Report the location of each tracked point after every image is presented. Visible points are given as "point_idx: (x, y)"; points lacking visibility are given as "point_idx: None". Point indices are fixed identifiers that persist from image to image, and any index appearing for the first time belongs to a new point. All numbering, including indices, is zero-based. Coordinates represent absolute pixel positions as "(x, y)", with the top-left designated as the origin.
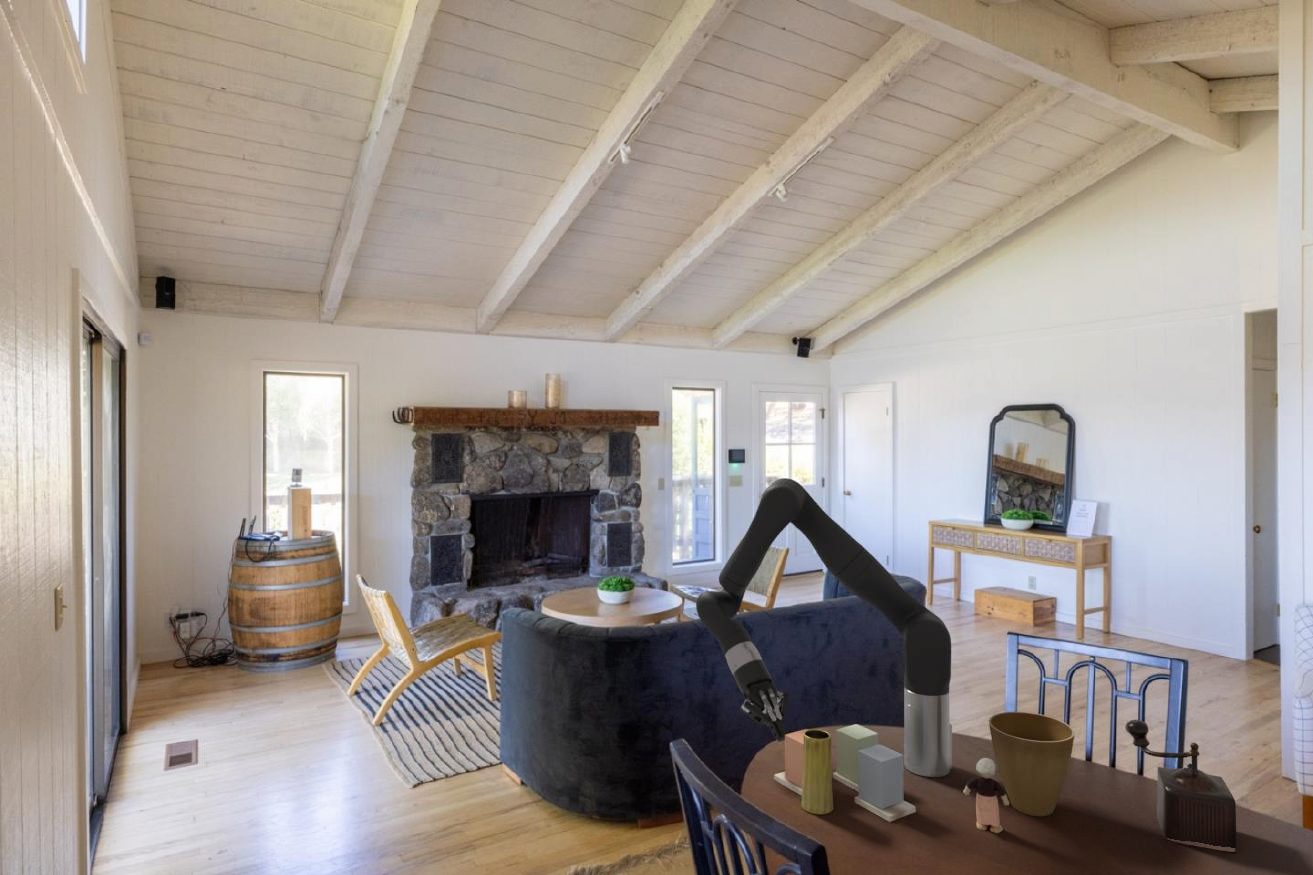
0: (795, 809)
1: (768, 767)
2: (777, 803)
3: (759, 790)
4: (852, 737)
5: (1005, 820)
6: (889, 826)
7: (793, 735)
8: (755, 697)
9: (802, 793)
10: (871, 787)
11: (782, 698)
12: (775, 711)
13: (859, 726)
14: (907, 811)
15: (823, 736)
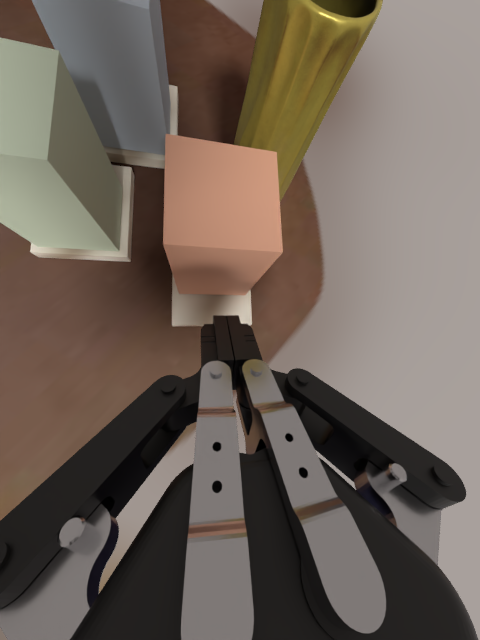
0: (287, 218)
1: None
2: (300, 250)
3: (300, 304)
4: (58, 75)
5: None
6: (190, 92)
7: (258, 229)
8: (378, 543)
9: None
10: (165, 87)
11: (84, 517)
12: (228, 401)
13: None
14: None
15: (274, 6)
